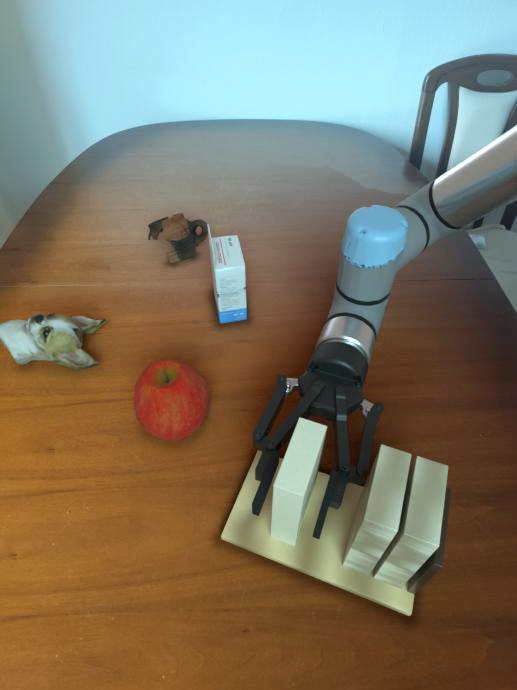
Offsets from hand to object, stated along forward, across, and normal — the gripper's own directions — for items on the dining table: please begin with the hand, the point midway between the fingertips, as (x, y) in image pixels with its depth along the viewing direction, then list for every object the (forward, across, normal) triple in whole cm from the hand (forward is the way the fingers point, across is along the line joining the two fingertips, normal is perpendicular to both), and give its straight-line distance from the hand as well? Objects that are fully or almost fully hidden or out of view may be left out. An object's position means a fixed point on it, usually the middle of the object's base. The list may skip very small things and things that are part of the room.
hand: (285, 521), depth 46 cm
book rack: (-4, -4, -9) cm, 11 cm away
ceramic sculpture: (-16, +43, -9) cm, 47 cm away
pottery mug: (-47, +38, -9) cm, 61 cm away
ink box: (-36, +22, -9) cm, 43 cm away
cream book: (-4, 0, -8) cm, 9 cm away
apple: (-12, +20, -9) cm, 25 cm away
